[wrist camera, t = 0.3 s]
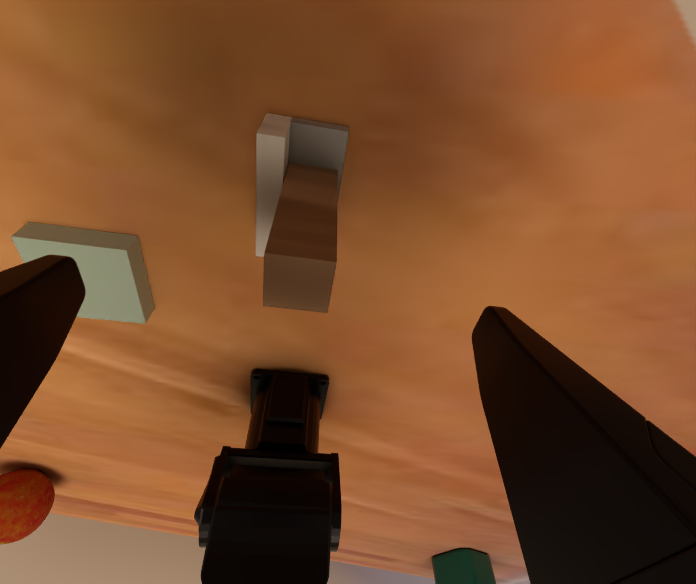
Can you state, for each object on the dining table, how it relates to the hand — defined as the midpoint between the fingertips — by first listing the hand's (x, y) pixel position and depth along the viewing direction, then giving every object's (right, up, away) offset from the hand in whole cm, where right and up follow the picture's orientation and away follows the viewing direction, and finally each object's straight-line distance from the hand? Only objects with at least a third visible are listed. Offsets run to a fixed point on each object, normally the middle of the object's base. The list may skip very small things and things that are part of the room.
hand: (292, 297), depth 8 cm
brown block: (-2, +6, +12) cm, 14 cm away
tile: (-15, +2, +16) cm, 22 cm away
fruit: (-35, -21, +34) cm, 53 cm away
